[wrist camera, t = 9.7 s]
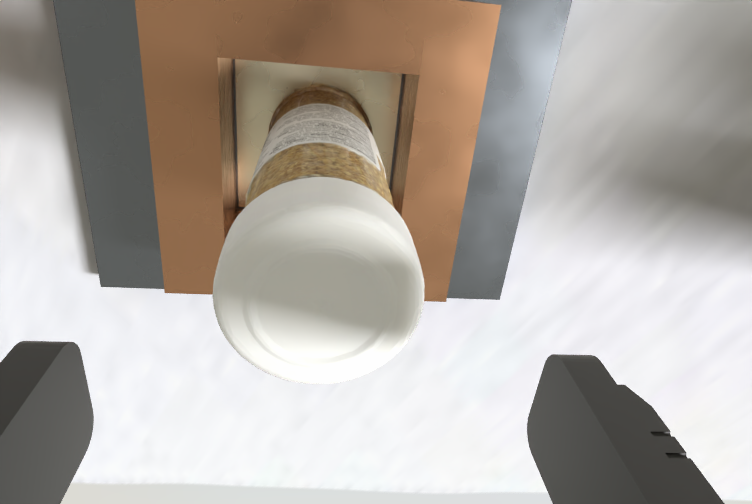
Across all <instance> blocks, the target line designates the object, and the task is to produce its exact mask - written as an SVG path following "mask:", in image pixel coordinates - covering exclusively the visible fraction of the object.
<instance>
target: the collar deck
mask: <svg viewBox="0 0 752 504" xmlns="http://www.w3.org/2000/svg"><path fill="white" fill-rule="evenodd" d="M53 2H54V8H55V14H56V20H57V26H58V32H59V38H60V44H61V50H62V56H63V62H64V68H65V74H66V80H67V86H68V92H69V98H70V104H71V110H72V116H73V122H74V128H75V134H76V140H77V146H78V152H79V158H80V164H81V170H82V176H83V182H84V188H85V194H86V200H87V206H88V212H89V218H90V224H91V230H92V236H93V242H94V248H95V254H96V260H97V266H98V272H99V278H100V284H101V287H123V288H154V289H164V290H165V293H184V294H213V283H214V277H215V273H216V269H217V265H218V261H219V257H220V254H221V251H222V248H223V245H224V242H225V239H226V237H227V235H228V232H229V230H230V228H231V226H232V224H233V222H234V221H235V219H236V218H237V216H238V215H239V214H240V213H241V212H242V211H243V209H244V208H245V205H246V197H247V192H248V189H249V185H250V183H251V180H252V177H253V174H254V172H255V169H256V166H257V163H258V160H259V157H260V154H261V152H262V149H263V146H264V143H265V140H266V138H267V136H268V132H269V125H270V122H271V119H272V116H273V114H274V112H275V110H276V109H277V107H278V106H279V105H280V104H281V103H282V101H283V100H284V99H286V98H287V97H288V96H290V95H291V94H293V93H294V92H296V91H299V90H301V89H303V88H305V87H315V86H324V87H331V88H334V89H336V90H339V91H342V92H345V93H347V94H348V95H349V96H350V97H352V98H353V99H354V100H355V101H356V102H357V103H358V104H359V105H360V106H361V107H362V108H363V110H364V112H365V113H366V115H367V116H368V119H369V122H370V124H371V127H372V132H373V137H374V140H375V142H376V145H377V148H378V151H379V154H380V157H381V160H382V163H383V166H384V169H385V174H386V181H387V184H388V188H389V190H390V193H391V196H392V202H393V206H394V208H395V210H396V211H397V212H398V213H399V214H400V216H401V217H402V219H403V220H404V222H405V224H406V226H407V228H408V230H409V232H410V235H411V237H412V240H413V243H414V246H415V249H416V252H417V255H418V258H419V261H420V265H421V269H422V273H423V278H424V285H425V288H424V301H439V302H446V299H447V298H464V299H495V300H500V296H501V292H502V287H503V283H504V279H505V275H506V271H507V267H508V263H509V258H510V254H511V250H512V246H513V242H514V238H515V234H516V229H517V225H518V221H519V217H520V213H521V209H522V205H523V201H524V196H525V192H526V188H527V184H528V180H529V176H530V172H531V167H532V163H533V159H534V155H535V151H536V147H537V143H538V138H539V134H540V130H541V126H542V122H543V118H544V114H545V109H546V105H547V101H548V97H549V93H550V89H551V85H552V81H553V76H554V72H555V68H556V64H557V60H558V56H559V52H560V47H561V43H562V39H563V35H564V31H565V27H566V23H567V18H568V14H569V10H570V6H571V2H572V0H53Z"/></svg>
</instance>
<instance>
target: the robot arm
mask: <svg viewBox="0 0 752 504" xmlns="http://www.w3.org/2000/svg"><path fill="white" fill-rule="evenodd" d="M92 430H93V409H92V404H91V399H90V394H89V390H88V385H87V380H86V375H85V370H84V366H83V361H82V356H81V352H80V349H79V347H78V346H77V344H75V343H74V342H46V341H22V342H19V343H18V344H17V345H15V346H14V347H13V349H12V350H11V351H10V352H9V353H8V355H7V356H6V357H5V358H4V359H3V360H2V362H1V363H0V504H60V503H61V501H62V499H63V497H64V495H65V493H66V491H67V489H68V487H69V485H70V483H71V481H72V479H73V477H74V475H75V473H76V471H77V469H78V467H79V465H80V463H81V461H82V459H83V457H84V455H85V453H86V451H87V449H88V446H89V443H90V440H91V436H92ZM527 434H528V442H529V447H530V450H531V453H532V456H533V458H534V460H535V463H536V465H537V467H538V470H539V472H540V474H541V477H542V479H543V481H544V484H545V486H546V488H547V491H548V493H549V495H550V498H551V500H552V502H553V504H724V503H723V501H722V500H721V499H720V497H719V496H718V495H717V493H716V492H715V491H714V489H713V488H712V486H711V485H710V484H709V482H708V481H707V480H706V478H705V477H704V476H703V474H702V473H701V472H700V470H699V469H698V468H697V466H696V465H695V464H694V462H693V461H692V460H691V458H687V457H686V452H685V450H684V449H683V448H682V446H681V445H680V444H679V442H678V441H677V440H676V438H675V437H671V435H670V430H669V429H668V428H667V426H666V425H665V424H664V422H663V421H662V420H661V418H660V417H659V416H658V414H657V413H656V412H655V410H654V409H653V408H652V406H650V405H649V404H648V403H647V402H645V401H644V400H643V399H642V398H640V397H639V396H638V395H637V394H635V393H634V392H633V391H632V390H630V389H629V388H628V387H627V386H625V385H617V384H616V382H615V381H614V380H613V378H612V377H611V375H610V374H609V372H608V371H607V370H606V368H605V367H604V365H603V364H602V363H601V361H600V360H599V359H598V358H597V357H595V356H592V355H555V354H553V355H551V356H549V357H548V358H547V360H546V362H545V365H544V368H543V371H542V374H541V378H540V381H539V384H538V387H537V391H536V394H535V397H534V400H533V403H532V407H531V410H530V413H529V417H528V423H527Z"/></svg>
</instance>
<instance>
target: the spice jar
mask: <svg viewBox="0 0 752 504" xmlns="http://www.w3.org/2000/svg"><path fill="white" fill-rule="evenodd" d="M424 288H425V285H424V278H423V273H422V269H421V265H420V261H419V258H418V255H417V252H416V249H415V246H414V243H413V240H412V237H411V235H410V232H409V230H408V228H407V226H406V224H405V222H404V220H403V219H402V217H401V216H400V214H399V213H398V212H397V211H396V210H395V208H394V206H393V202H392V196H391V193H390V190H389V188H388V184H387V181H386V174H385V169H384V166H383V163H382V160H381V157H380V154H379V151H378V148H377V145H376V142H375V140H374V137H373V132H372V127H371V124H370V122H369V119H368V116H367V115H366V113H365V112H364V110H363V108H362V107H361V106H360V105H359V104H358V103H357V102H356V101H355V100H354V99H353V98H352V97H350V96H349V95H348V94H347V93H345V92H342V91H339V90H336V89H334V88H331V87H324V86H315V87H305V88H303V89H301V90H299V91H296V92H294V93H293V94H291V95H290V96H288V97H287V98H286V99H284V100H283V101H282V103H281V104H280V105H279V106H278V107H277V109H276V110H275V112H274V114H273V116H272V119H271V122H270V125H269V132H268V136H267V138H266V140H265V143H264V146H263V149H262V152H261V154H260V157H259V160H258V163H257V166H256V169H255V172H254V174H253V177H252V180H251V183H250V185H249V189H248V192H247V197H246V205H245V208H244V209H243V211H242V212H241V213H240V214H239V215H238V216H237V218H236V219H235V221H234V222H233V224H232V226H231V228H230V230H229V232H228V235H227V237H226V239H225V242H224V245H223V248H222V251H221V254H220V257H219V261H218V265H217V269H216V273H215V277H214V283H213V303H214V309H215V314H216V317H217V320H218V324H219V326H220V328H221V330H222V332H223V334H224V335H225V337H226V339H227V340H228V341H229V343H230V344H231V345H232V347H233V348H234V349H235V350H236V351H237V352H238V353H239V354H240V355H241V356H242V357H243V358H244V359H246V360H247V361H248V362H250V363H251V364H252V365H254V366H255V367H257V368H258V369H260V370H262V371H264V372H266V373H268V374H270V375H273V376H275V377H278V378H281V379H284V380H288V381H293V382H298V383H305V384H331V383H338V382H343V381H348V380H351V379H354V378H357V377H360V376H362V375H365V374H367V373H369V372H371V371H373V370H375V369H377V368H379V367H380V366H382V365H383V364H385V363H386V362H388V361H389V360H390V359H391V358H393V357H394V356H395V355H396V354H397V353H398V352H399V351H400V350H401V349H402V348H403V347H404V345H405V344H406V343H407V342H408V340H409V339H410V337H411V336H412V334H413V332H414V330H415V329H416V327H417V325H418V322H419V320H420V317H421V313H422V310H423V304H424Z"/></svg>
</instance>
